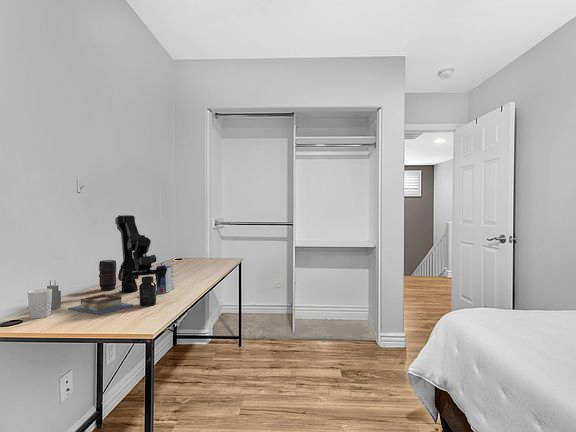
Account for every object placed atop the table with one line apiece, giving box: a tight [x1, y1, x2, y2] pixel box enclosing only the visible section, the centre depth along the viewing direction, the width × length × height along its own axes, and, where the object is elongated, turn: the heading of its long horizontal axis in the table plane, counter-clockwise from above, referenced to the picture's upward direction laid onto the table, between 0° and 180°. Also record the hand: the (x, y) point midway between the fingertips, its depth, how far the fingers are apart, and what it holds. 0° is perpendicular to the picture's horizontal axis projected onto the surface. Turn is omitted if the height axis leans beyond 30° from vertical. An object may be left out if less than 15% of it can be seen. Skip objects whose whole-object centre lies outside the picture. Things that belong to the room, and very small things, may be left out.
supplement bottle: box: [138, 275, 157, 307], centre depth 161 cm, size 7×7×12 cm
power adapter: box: [46, 280, 62, 311], centre depth 156 cm, size 3×5×12 cm, turn 100°
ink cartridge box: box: [155, 261, 175, 294], centre depth 189 cm, size 10×6×14 cm, turn 174°
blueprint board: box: [67, 302, 135, 316], centre depth 157 cm, size 20×16×1 cm
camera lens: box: [98, 259, 117, 292], centre depth 194 cm, size 8×8×15 cm
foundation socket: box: [80, 293, 123, 311], centre depth 157 cm, size 11×11×4 cm
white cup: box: [27, 287, 52, 319], centre depth 144 cm, size 8×8×10 cm
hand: (148, 288), depth 160 cm, fingers open, 9 cm apart
